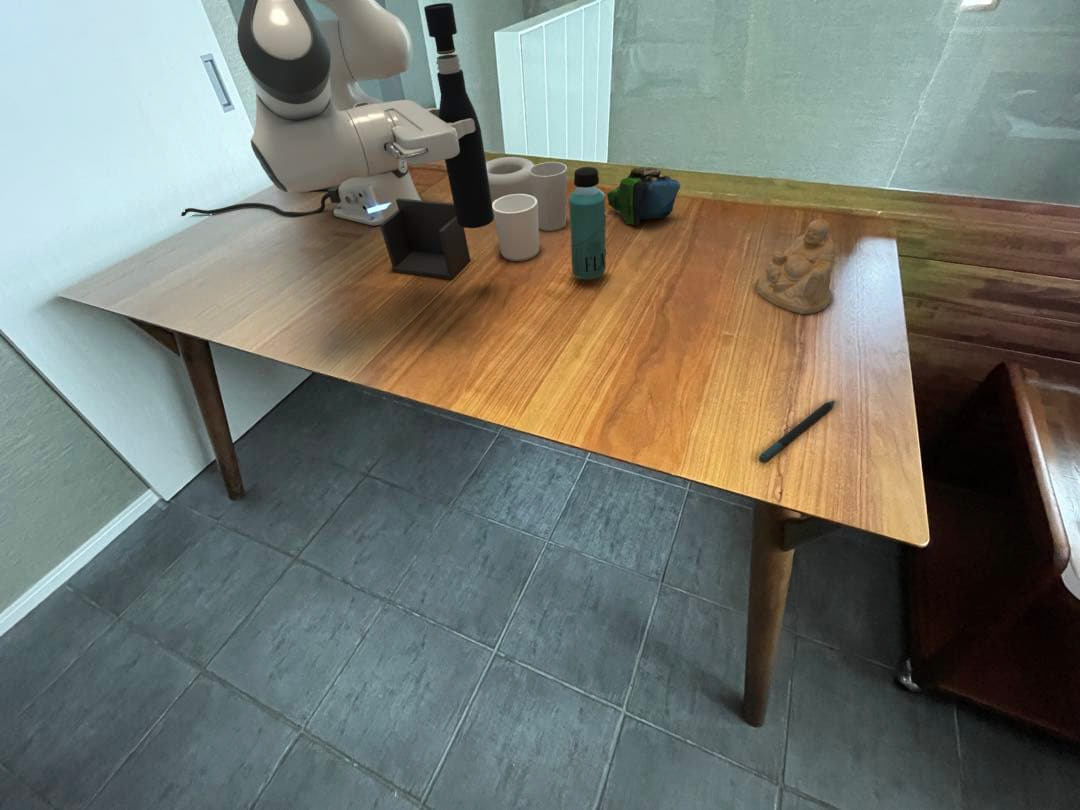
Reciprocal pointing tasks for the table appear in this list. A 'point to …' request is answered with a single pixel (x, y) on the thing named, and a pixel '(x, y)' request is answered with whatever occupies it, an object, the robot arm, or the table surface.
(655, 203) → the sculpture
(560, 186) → the cup
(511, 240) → the mug
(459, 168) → the wine bottle
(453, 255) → the book rack
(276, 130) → the robot arm
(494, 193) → the thick torus
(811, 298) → the statue
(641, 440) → the table surface
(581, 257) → the beverage bottle
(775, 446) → the pen
